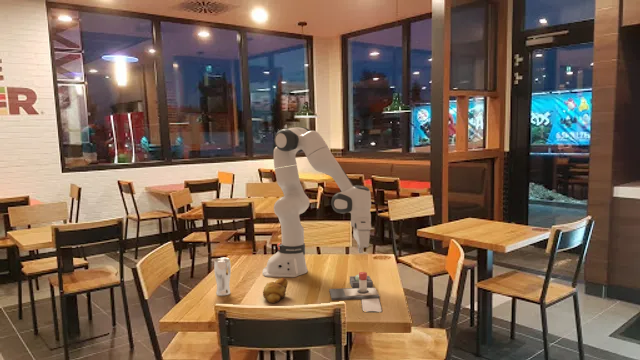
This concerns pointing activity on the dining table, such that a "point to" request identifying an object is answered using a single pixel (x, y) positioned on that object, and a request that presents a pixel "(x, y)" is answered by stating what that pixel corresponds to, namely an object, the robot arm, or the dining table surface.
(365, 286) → the marker
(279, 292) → the bread roll
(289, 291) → the dining table surface
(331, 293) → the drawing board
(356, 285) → the button base
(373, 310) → the smartphone
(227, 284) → the beer glass
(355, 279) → the button
